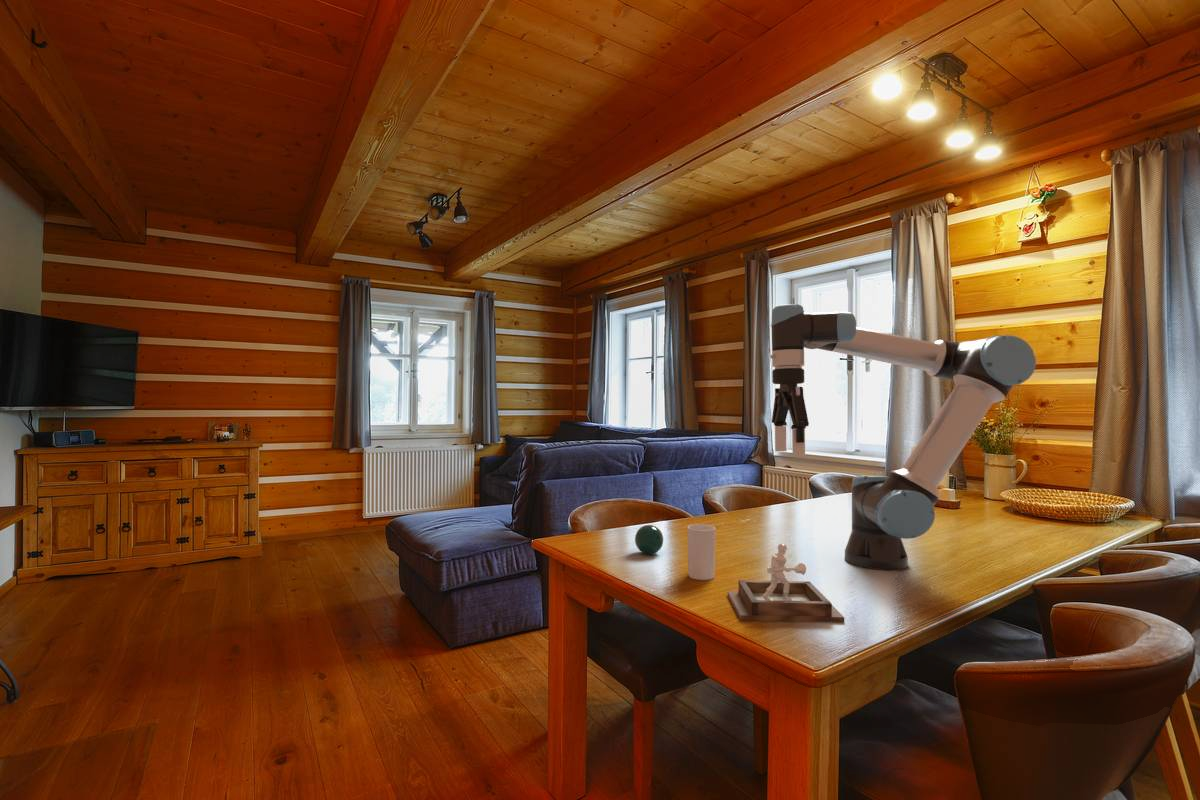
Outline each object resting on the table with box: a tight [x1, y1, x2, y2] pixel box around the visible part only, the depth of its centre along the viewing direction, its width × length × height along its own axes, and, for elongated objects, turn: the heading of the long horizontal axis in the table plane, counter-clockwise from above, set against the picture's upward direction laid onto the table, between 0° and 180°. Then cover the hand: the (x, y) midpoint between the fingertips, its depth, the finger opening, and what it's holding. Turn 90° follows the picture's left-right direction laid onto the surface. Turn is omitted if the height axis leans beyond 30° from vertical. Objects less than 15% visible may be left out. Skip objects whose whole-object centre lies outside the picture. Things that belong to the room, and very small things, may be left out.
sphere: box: [634, 524, 664, 555], centre depth 159 cm, size 8×8×8 cm
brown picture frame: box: [727, 579, 845, 623], centre depth 118 cm, size 20×14×4 cm
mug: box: [687, 523, 716, 581], centre depth 140 cm, size 10×7×12 cm, turn 176°
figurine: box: [762, 543, 807, 601], centre depth 118 cm, size 5×9×12 cm, turn 112°
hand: (789, 453), depth 140 cm, fingers open, 13 cm apart
